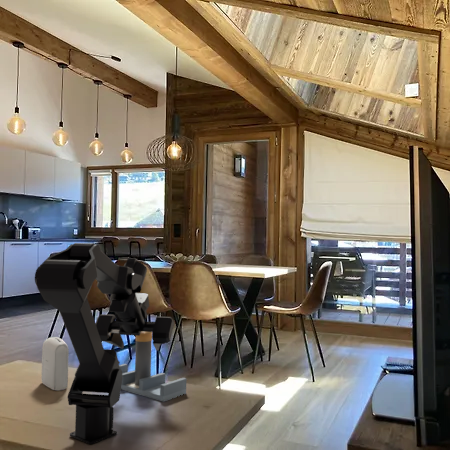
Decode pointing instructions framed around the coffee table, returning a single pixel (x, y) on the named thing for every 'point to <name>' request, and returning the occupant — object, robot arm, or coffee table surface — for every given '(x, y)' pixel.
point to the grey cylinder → (143, 356)
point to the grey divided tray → (152, 385)
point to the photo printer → (55, 363)
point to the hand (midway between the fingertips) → (140, 348)
